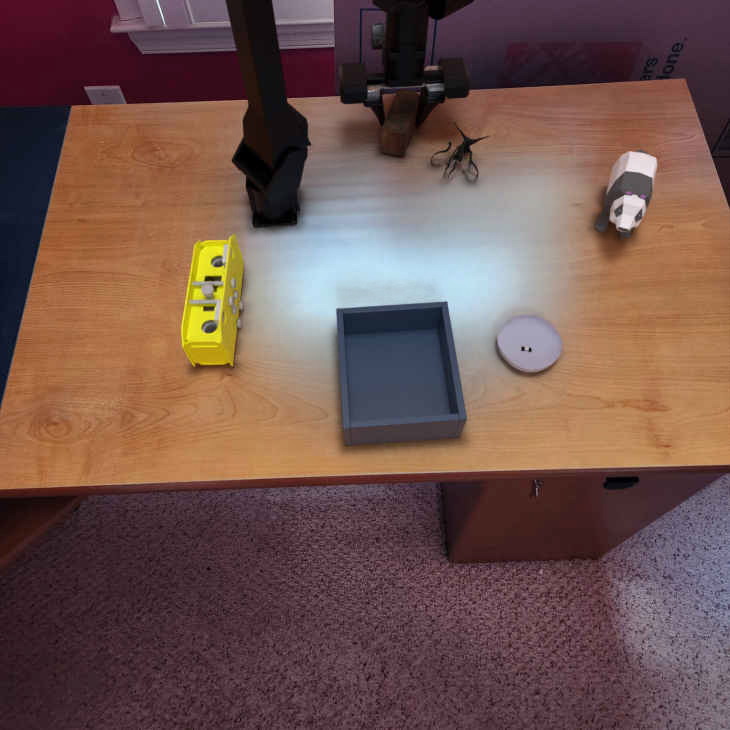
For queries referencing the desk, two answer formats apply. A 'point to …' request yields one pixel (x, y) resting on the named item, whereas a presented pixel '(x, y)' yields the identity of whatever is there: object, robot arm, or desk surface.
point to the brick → (399, 123)
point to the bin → (399, 374)
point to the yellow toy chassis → (213, 302)
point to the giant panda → (628, 192)
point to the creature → (460, 152)
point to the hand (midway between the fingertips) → (400, 128)
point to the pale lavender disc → (529, 343)
